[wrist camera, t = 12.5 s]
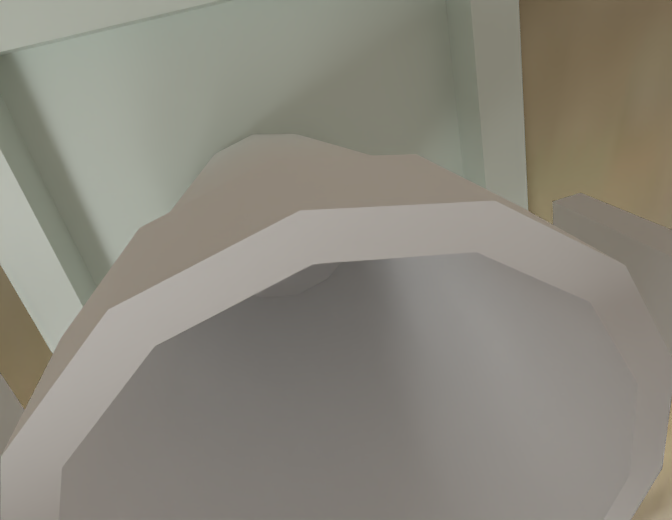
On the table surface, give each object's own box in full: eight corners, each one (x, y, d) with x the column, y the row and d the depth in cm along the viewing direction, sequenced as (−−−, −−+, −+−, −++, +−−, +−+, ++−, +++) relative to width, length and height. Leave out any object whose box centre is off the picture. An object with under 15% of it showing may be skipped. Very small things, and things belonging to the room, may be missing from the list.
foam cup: (157, 337, 20) (74, 780, 8) (120, 87, 16) (-141, 232, 4) (389, 314, 21) (595, 642, 10) (405, 87, 18) (770, 186, 6)
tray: (142, 437, 23) (132, 491, 20) (-84, 14, 15) (-149, 10, 12) (499, 322, 25) (534, 357, 22) (465, -109, 17) (512, -136, 14)
